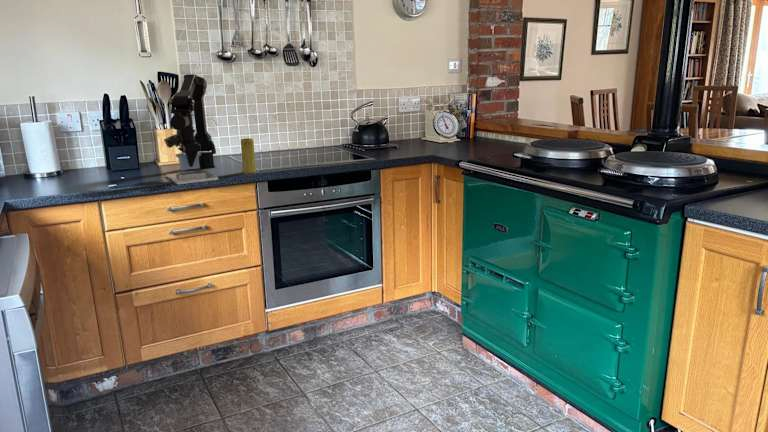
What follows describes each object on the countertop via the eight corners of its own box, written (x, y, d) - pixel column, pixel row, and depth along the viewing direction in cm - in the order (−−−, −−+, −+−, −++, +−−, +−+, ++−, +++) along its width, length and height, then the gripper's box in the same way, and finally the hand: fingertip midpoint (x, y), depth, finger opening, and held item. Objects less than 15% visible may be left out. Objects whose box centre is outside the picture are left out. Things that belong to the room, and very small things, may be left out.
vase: (242, 174, 243) (239, 140, 239) (242, 171, 249) (239, 138, 245) (257, 173, 244) (254, 139, 241) (256, 170, 250) (253, 138, 246)
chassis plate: (204, 172, 248) (204, 166, 248) (218, 179, 232) (217, 172, 231) (166, 176, 240) (165, 170, 239) (177, 184, 224) (176, 177, 223)
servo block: (199, 166, 236) (198, 150, 234) (202, 167, 233) (200, 151, 231) (177, 168, 231) (175, 152, 229) (179, 170, 228) (177, 153, 226)
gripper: (159, 126, 231) (164, 164, 235) (169, 131, 216) (174, 171, 220) (187, 124, 237) (191, 161, 241) (199, 128, 221) (203, 168, 226)
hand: (189, 165), depth 232 cm, fingers closed on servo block, 4 cm apart
